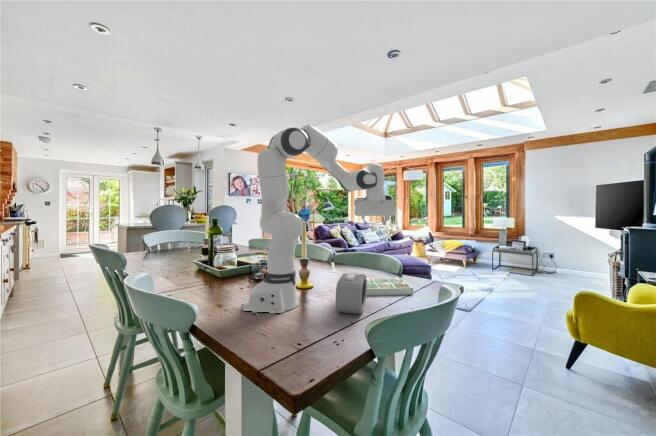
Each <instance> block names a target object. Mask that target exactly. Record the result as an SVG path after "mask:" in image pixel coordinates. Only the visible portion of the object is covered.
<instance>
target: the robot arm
mask: <svg viewBox="0 0 656 436" xmlns="http://www.w3.org/2000/svg"><path fill="white" fill-rule="evenodd" d="M338 150H339V149H338V146H337V144H336V143H335V142H334V141H333V140H332V138H330V137H329V136H328V135H327V134H325V132H323V131H321V130H320V129H319V128H316V127H315V126H314V125H310V124H305V125H303V126H301V127H300V128H298V127H288V128H286V129H284V130H281V131H279V132H278V133H276V134H274V135H273V136H272V137H271V139H270V141H269V143H268V146H267V148H265V149H263V150H260V152H258V154H257V162H256V163H257V164H256V166H257V175H258V182H259V188H260V194H261V218H259V227H260V229H261V231H263V233H264V234H266V235H268V236H269V237H271V242H270V246H269V250H268V251H267V253H266V263H267V264H266V265H267V266H266V267H267V269H265V270H263V272H262V277H261V279H262V281H260V282H259V283H258V284H257V285H255V287H253V288H252V289H251V290H250V292H249V295H248V299H247V300H246V301H244V303H243V305H242V311H243V310H244V311H252V312H251V313H257V312H269V313H268V314H275V313H280V314H282V313H284V312H286V311H289V310H293V309H295V308H297V307H298V306H299V304H300V303H299V299H298V296H297V289H296V283H297V273H296V270H295V252H296V247H297V243H298V238H299V236H301V234H302V233H303V230H304V222H303V219H302V218H301V217H300V215H298V214H296V213H294V212H292V211H287V205H288V204H287V203H288V199H289V196H290V190H289V184H288V183H289V182H288V175H287V170H286V163H287V159H293V158H295V157H297V156H300V155H301V154H302V155H303V153H304V152H305V153H307V154H308V155H309V156H310V157H311V158H312V159H314V160H315V161H317V162H318V163H319V164H320V166H322V168H323V169H324V170H326V172H327V173H329V174H330V175H331V176H332V177H333V178H334V179H335V180H337V182H338V183H339V185H340V186H341V188H342V189H343V190H344V191H345V192H349V193H350V192H354V191H355V192H356V191H364V190H365V196H362V197H361V196H358V197H356V198H355V199H354V200H353V204H354V210H353V211H354V215H355V216H356V217H361V220H362V222H363V226H368V221H366V217H368V216H369V217H372V216H373V217H377V216H378V217H383V216H384V218H385V219H384V220H382V221H381V224H382V226H386V225H387V221H388V220H389V217H390V216H393V217H394V216H396V214H397V211H396V210H397V209H396V203H395V201H394V200H395V197H394V196H393V195H390V194H387V193H385V188H384V184H385V170H384V166H383V165H381V164H379V163H368V164H367V165H366V166H365V167H363V168H361V169H358V170H352V171H351V170H347V169H345V168H344V167H343V166H342V165H341V164H340V163H338V162H337V160H336V158H337V156H338V152H339V151H338ZM244 311H243V312H244Z"/></svg>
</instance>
